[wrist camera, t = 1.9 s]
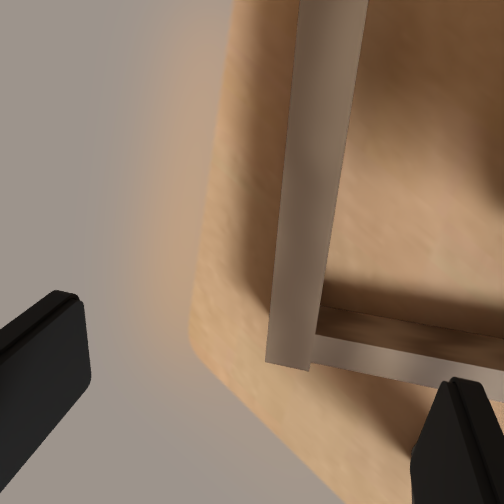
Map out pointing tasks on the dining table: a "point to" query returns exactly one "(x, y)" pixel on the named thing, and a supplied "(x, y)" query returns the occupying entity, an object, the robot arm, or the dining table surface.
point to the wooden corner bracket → (320, 227)
